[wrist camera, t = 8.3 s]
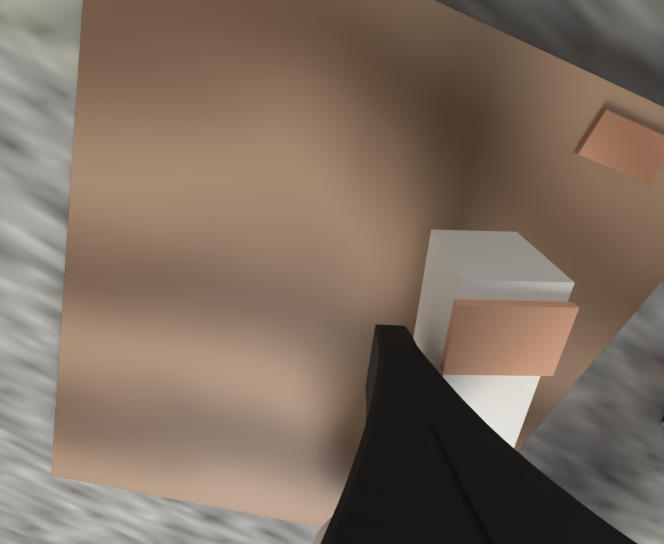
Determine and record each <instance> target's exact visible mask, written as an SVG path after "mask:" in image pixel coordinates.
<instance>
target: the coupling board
mask: <svg viewBox="0 0 664 544" xmlns="http://www.w3.org/2000/svg"><path fill="white" fill-rule="evenodd" d="M431 230H468V231H505V232H518V233H519V234H520V235H521V236H522V237H523V238H524V239H526V240H527V241H528V242H529V243H530V244H531V245H532V246H534V247H535V248H536V249H537V250H538V251H539V252H540V253H542V254H543V255H544V256H545V257H546V258H547V259H548V260H550V261H551V262H552V263H553V264H554V265H555V266H556V267H558V268H559V269H560V270H561V271H562V272H563V273H564V274H566V275H567V276H568V277H569V278H570V279H571V280H572V281H574V282H575V283H574V286H573V289H572V292H571V294H570V297H569V300H568V302H574V303H575V304H576V305H577V306H578V307H579V310H578V313H577V315H576V318H575V320H574V323H573V326H572V328H571V331H570V333H569V336H568V338H567V341H566V344H565V346H564V349H563V351H562V354H561V357H560V359H559V362H558V364H557V367H556V370H555V372H554V375H553V376H540V379H539V382H538V384H537V387H536V390H535V392H534V395H533V398H532V401H531V403H530V406H529V409H528V411H527V414H526V417H525V420H524V422H523V425H522V428H521V431H520V433H519V436H518V439H517V441H516V444H515V447H514V449H515V450H516V451H518V449H519V448H520V447H521V446H522V445H523V444H524V442H525V441H526V440H527V439H528V438H529V436H530V435H531V434H532V433H533V432H534V431H535V429H536V428H537V427H538V426H539V425H540V423H541V422H542V421H543V420H544V419H545V418H546V416H547V415H548V414H549V413H550V412H551V411H552V409H553V408H554V407H555V406H556V405H557V403H558V402H559V401H560V400H561V399H562V398H563V396H564V395H565V394H566V393H567V392H568V390H569V389H570V388H571V387H572V386H573V385H574V383H575V382H576V381H577V380H578V379H579V377H580V376H581V375H582V374H583V373H584V372H585V370H586V369H587V368H588V367H589V366H590V365H591V363H592V362H593V361H594V360H595V359H596V357H597V356H598V355H599V354H600V353H601V352H602V350H603V349H604V348H605V347H606V346H607V344H608V343H609V342H610V341H611V340H612V339H613V337H614V336H615V335H616V334H617V333H618V331H619V330H620V329H621V328H622V327H623V326H624V324H625V323H626V322H627V321H628V320H629V319H630V317H631V316H632V315H633V314H634V313H635V311H636V310H637V309H638V308H639V307H640V306H641V304H642V303H643V302H644V301H645V300H646V298H647V297H648V296H649V295H650V294H651V293H652V291H653V290H654V289H655V288H656V287H657V286H658V284H659V283H660V282H661V281H662V280H663V278H664V107H663V106H660V105H658V104H656V103H654V102H652V101H650V100H648V99H645V98H643V97H641V96H639V95H637V94H635V93H633V92H630V91H628V90H626V89H624V88H622V87H620V86H618V85H615V84H613V83H611V82H609V81H607V80H605V79H603V78H600V77H598V76H596V75H594V74H592V73H590V72H588V71H585V70H583V69H581V68H579V67H577V66H575V65H573V64H570V63H568V62H566V61H564V60H562V59H560V58H557V57H555V56H553V55H551V54H549V53H547V52H545V51H542V50H540V49H538V48H536V47H534V46H532V45H530V44H527V43H525V42H523V41H521V40H519V39H517V38H515V37H512V36H510V35H508V34H506V33H504V32H502V31H500V30H497V29H495V28H493V27H491V26H489V25H487V24H485V23H482V22H480V21H478V20H476V19H474V18H472V17H470V16H467V15H465V14H463V13H461V12H459V11H457V10H454V9H452V8H450V7H448V6H446V5H444V4H442V3H439V2H437V1H435V0H83V8H82V23H81V38H80V53H79V68H78V83H77V98H76V113H75V128H74V143H73V158H72V173H71V188H70V203H69V218H68V233H67V248H66V263H65V278H64V293H63V308H62V323H61V338H60V353H59V368H58V383H57V398H56V413H55V428H54V442H53V457H52V472H51V476H57V477H62V478H67V479H72V480H77V481H83V482H88V483H93V484H98V485H104V486H109V487H114V488H119V489H124V490H130V491H135V492H140V493H145V494H151V495H156V496H161V497H166V498H171V499H177V500H182V501H187V502H192V503H197V504H203V505H208V506H213V507H218V508H224V509H229V510H234V511H239V512H244V513H250V514H255V515H260V516H265V517H271V518H276V519H281V520H286V521H291V522H297V523H302V524H307V525H312V526H318V527H322V526H323V525H324V524H325V523H326V522H327V521H328V520H329V519H330V518H331V517H332V516H333V513H334V511H335V509H336V506H337V504H338V502H339V499H340V497H341V494H342V492H343V489H344V487H345V484H346V481H347V479H348V476H349V473H350V470H351V468H352V465H353V462H354V459H355V456H356V454H357V451H358V447H359V444H360V441H361V438H362V435H363V431H364V428H365V423H366V391H365V387H366V380H367V374H368V368H369V361H370V355H371V349H372V342H373V336H374V330H375V324H380V325H400V326H406V328H407V329H408V331H409V332H410V334H411V335H412V337H414V331H415V325H416V319H417V313H418V307H419V301H420V295H421V288H422V282H423V276H424V270H425V264H426V258H427V252H428V246H429V240H430V233H431Z"/></svg>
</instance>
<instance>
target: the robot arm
mask: <svg viewBox="0 0 664 544" xmlns="http://www.w3.org/2000/svg"><path fill="white" fill-rule="evenodd" d="M365 391H366V423H365V428H364V431H363V435H362V438H361V441H360V444H359V447H358V451H357V454H356V456H355V459H354V462H353V465H352V468H351V470H350V473H349V476H348V479H347V481H346V484H345V487H344V489H343V492H342V494H341V497H340V499H339V502H338V504H337V506H336V509H335V511H334V513H333V516H332V518H331V520H330V523H329V525H328V527H327V529H326V532H325V534H324V536H323V539H322V541H321V543H320V544H637V543H635V542H634V541H633V540H631V539H630V538H628V537H627V536H625V535H624V534H622V533H621V532H619V531H618V530H617V529H615V528H614V527H613V526H611V525H610V524H608V523H607V522H606V521H604V520H603V519H602V518H600V517H599V516H597V515H596V514H595V513H593V512H592V511H591V510H589V509H588V508H587V507H585V506H584V505H583V504H581V503H580V502H579V501H577V500H576V499H575V498H574V497H572V496H571V495H570V494H568V493H567V492H566V491H565V490H563V489H562V488H561V487H559V486H558V485H557V484H556V483H554V482H553V481H552V480H550V479H549V478H548V477H547V476H546V475H544V474H543V473H542V472H541V471H540V470H538V469H537V468H536V467H535V466H533V465H532V464H531V463H530V462H529V461H528V460H526V459H525V458H524V457H523V456H522V455H521V454H520V453H519V452H517V451H516V450H515V449H514V448H513V447H512V446H511V445H510V444H508V443H507V442H506V441H505V440H504V439H503V438H502V437H500V436H499V435H498V434H497V433H496V432H495V431H494V430H493V429H492V428H491V427H490V426H489V425H488V424H487V423H486V422H485V421H484V420H483V419H482V418H481V417H480V416H479V415H478V414H477V413H476V412H475V411H474V410H473V409H472V408H471V407H470V406H469V405H468V404H467V403H466V402H465V401H464V400H463V399H462V398H461V397H460V396H459V394H458V393H457V392H456V391H455V390H454V389H453V388H452V387H451V385H450V384H449V383H448V382H447V381H446V380H445V379H444V378H443V376H442V375H441V374H440V373H439V372H438V371H437V369H436V368H435V367H434V366H433V365H432V363H431V362H430V361H429V360H428V359H427V357H426V356H425V355H424V354H423V352H422V351H421V350H420V349H419V347H418V346H417V344H416V342H415V340H414V339H413V337H412V335H411V334H410V332H409V331H408V329H407V328H406V326H400V325H380V324H375V330H374V336H373V342H372V349H371V355H370V361H369V368H368V374H367V380H366V387H365Z"/></svg>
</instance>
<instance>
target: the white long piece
mask: <svg viewBox="0 0 664 544" xmlns="http://www.w3.org/2000/svg"><path fill="white" fill-rule="evenodd" d="M574 283H575V282H574V281H572V280H571V279H570V278H569V277H568V276H567V275H566V274H564V273H563V272H562V271H561V270H560V269H559V268H558V267H556V266H555V265H554V264H553V263H552V262H551V261H550V260H548V259H547V258H546V257H545V256H544V255H543V254H542V253H540V252H539V251H538V250H537V249H536V248H535V247H534V246H532V245H531V244H530V243H529V242H528V241H527V240H526V239H524V238H523V237H522V236H521V235H520V234H519V233H518V232H505V231H468V230H431V233H430V240H429V246H428V252H427V258H426V264H425V270H424V276H423V282H422V288H421V295H420V301H419V307H418V313H417V319H416V325H415V331H414V337H413V339H414V340H415V342H416V344H417V346H418V347H419V349H420V350H421V351H422V352H423V354H424V355H425V356H426V357H427V359H428V360H429V361H430V362H431V363H432V365H433V366H434V367H435V368H436V369H437V371H438V372H439V373H440V374H441V375H442V376H443V378H444V379H445V380H446V381H447V382H448V383H449V384H450V385H451V387H452V388H453V389H454V390H455V391H456V392H457V393H458V394H459V396H460V397H461V398H462V399H463V400H464V401H465V402H466V403H467V404H468V405H469V406H470V407H471V408H472V409H473V410H474V411H475V412H476V413H477V414H478V415H479V416H480V417H481V418H482V419H483V420H484V421H485V422H486V423H487V424H488V425H489V426H490V427H491V428H492V429H493V430H494V431H495V432H496V433H497V434H498V435H499V436H500V437H502V438H503V439H504V440H505V441H506V442H507V443H508V444H510V445H511V446H512V447H513V448H514V447H515V444H516V441H517V439H518V436H519V433H520V431H521V428H522V425H523V422H524V420H525V417H526V414H527V411H528V409H529V406H530V403H531V401H532V398H533V395H534V392H535V390H536V387H537V384H538V382H539V379H540V376H553V375H554V372H555V370H556V367H557V364H558V362H559V359H560V357H561V354H562V351H563V349H564V346H565V344H566V341H567V338H568V336H569V333H570V331H571V328H572V326H573V323H574V320H575V318H576V315H577V313H578V310H579V307H578V306H577V305H576V304H575V303H574V302H568V300H569V297H570V294H571V292H572V289H573V286H574ZM331 518H332V517H331ZM331 518H330V519H329V520H328V521H327V522H326V523H325V524H324V525H323V526H322V527H321V529H320V531H319V532H318V534H317V536H316V538H315V541H314V544H320V543H321V541H322V539H323V536H324V534H325V532H326V529H327V527H328V525H329V523H330V520H331Z"/></svg>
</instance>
